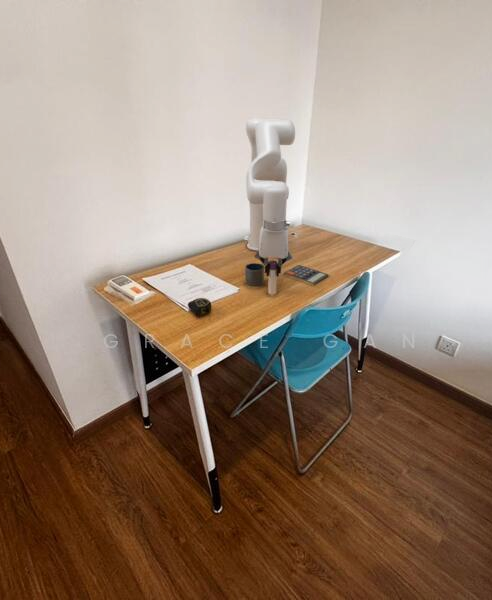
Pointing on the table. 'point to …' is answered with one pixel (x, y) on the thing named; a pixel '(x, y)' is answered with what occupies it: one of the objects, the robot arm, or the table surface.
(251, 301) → the table surface
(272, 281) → the glue stick
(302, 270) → the calculator
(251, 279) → the pen cup
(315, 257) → the table surface
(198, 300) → the tape measure
